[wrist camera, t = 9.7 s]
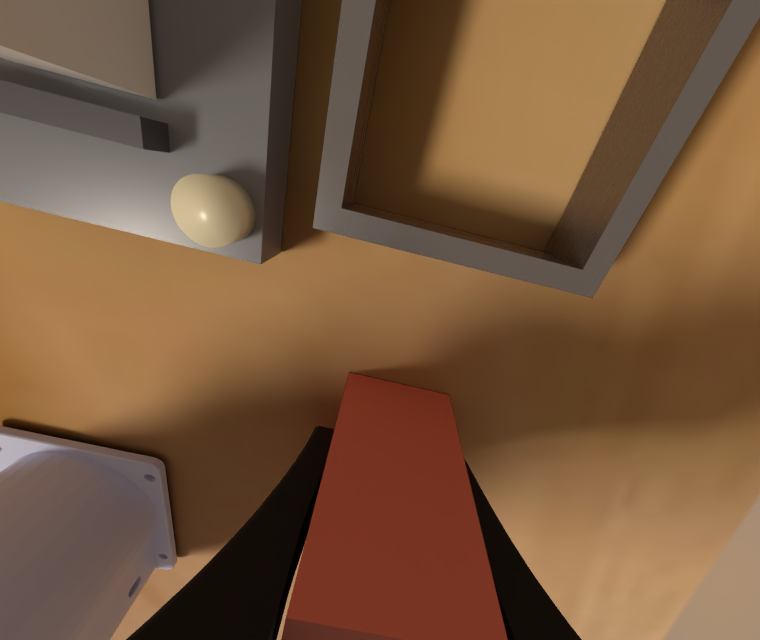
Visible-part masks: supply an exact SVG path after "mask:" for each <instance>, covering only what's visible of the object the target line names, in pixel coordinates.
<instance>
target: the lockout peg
mask: <svg viewBox="0 0 760 640" xmlns="http://www.w3.org/2000/svg"><path fill="white" fill-rule="evenodd" d="M281 640H508V639H507V635H506V631H505V627H504V622H503V618H502V614H501V610H500V606H499V602H498V597H497V593H496V589H495V585H494V581H493V577H492V573H491V568H490V564H489V560H488V556H487V552H486V548H485V544H484V539H483V535H482V531H481V527H480V523H479V519H478V515H477V510H476V506H475V502H474V498H473V494H472V490H471V485H470V481H469V477H468V473H467V469H466V465H465V461H464V456H463V452H462V448H461V444H460V440H459V436H458V432H457V427H456V423H455V419H454V415H453V411H452V407H451V403H450V398H449V395H447V394H442V393H438V392H434V391H429V390H425V389H420V388H416V387H412V386H407V385H403V384H398V383H394V382H389V381H385V380H381V379H376V378H372V377H367V376H363V375H358V374H354V373H350V372H349V375H348V379H347V383H346V387H345V391H344V394H343V398H342V402H341V406H340V410H339V414H338V418H337V422H336V425H335V429H334V433H333V437H332V441H331V445H330V449H329V453H328V457H327V460H326V464H325V468H324V472H323V476H322V480H321V484H320V488H319V491H318V495H317V499H316V503H315V507H314V511H313V515H312V519H311V523H310V526H309V530H308V534H307V538H306V542H305V546H304V550H303V554H302V557H301V561H300V565H299V569H298V573H297V577H296V581H295V585H294V589H293V592H292V596H291V600H290V604H289V608H288V612H287V616H286V620H285V625H284V630H283V635H282V639H281Z"/></svg>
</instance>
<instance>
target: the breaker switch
mask: <svg viewBox="0 0 760 640" xmlns="http://www.w3.org/2000/svg"><path fill="white" fill-rule="evenodd" d="M0 58H3V59H6V60H9V61H13V62H16V63H19V64H23V65H27V66H31V67H35V68H38V69H42V70H46V71H50V72H53V73H57V74H61V75H65V76H68V77H72V78H76V79H80V80H83V81H87V82H91V83H95V84H99V85H102V86H106V87H110V88H114V89H117V90H121V91H125V92H129V93H132V94H136V95H140V96H144V97H148V98H151V99H155V100H156V88H155V76H154V64H153V52H152V40H151V28H150V16H149V4H148V0H0Z"/></svg>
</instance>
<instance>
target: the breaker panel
mask: <svg viewBox="0 0 760 640" xmlns="http://www.w3.org/2000/svg"><path fill="white" fill-rule="evenodd" d="M148 4H149V16H150V28H151V40H152V52H153V64H154V76H155V88H156V100H155V99H151V98H148V97H144V96H140V95H136V94H132V93H129V92H125V91H121V90H117V89H114V88H110V87H106V86H102V85H99V84H95V83H91V82H87V81H83V80H80V79H76V78H72V77H68V76H65V75H61V74H57V73H53V72H50V71H46V70H42V69H38V68H35V67H31V66H27V65H23V64H19V63H16V62H13V61H9V60H6V59H3V58H0V201H1V202H5V203H9V204H13V205H17V206H22V207H26V208H30V209H34V210H38V211H42V212H46V213H51V214H55V215H59V216H63V217H67V218H71V219H75V220H79V221H84V222H88V223H92V224H96V225H100V226H104V227H108V228H112V229H117V230H121V231H125V232H129V233H133V234H137V235H141V236H146V237H150V238H154V239H158V240H162V241H166V242H170V243H174V244H179V245H183V246H187V247H191V248H195V249H199V250H203V251H208V252H212V253H216V254H220V255H224V256H228V257H232V258H236V259H241V260H245V261H249V262H253V263H257V264H262V263H264V262H266V261H267V260H269V259H271V258H272V257H274V256H276V255H277V254H279V253H281V243H282V231H283V219H284V208H285V196H286V184H287V172H288V161H289V149H290V137H291V126H292V114H293V102H294V91H295V79H296V67H297V55H298V44H299V32H300V20H301V9H302V0H148Z"/></svg>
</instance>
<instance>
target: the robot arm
mask: <svg viewBox="0 0 760 640" xmlns="http://www.w3.org/2000/svg"><path fill="white" fill-rule="evenodd" d="M333 433H334V429H331V428H326V427H321V426H318V427H315V429H314V431H313V433H312V435H311V437H310V439H309V441H308V442H307V444H306V446H305V447H304V449H303V450H302V452H301V453H300V455H299V456H298V458H297V459H296V461H295V462H294V464H293V465H292V466H291V468H290V469H289V471H288V472H287V473H286V475H285V476H284V477H283V479H282V480H281V481H280V483H279V484H278V485H277V487H276V488H275V489H274V490H273V491H272V493H271V494H270V495H269V496H268V498H267V499H266V500H265V501H264V503H263V504H262V505H261V506H260V507H259V509H258V510H257V511H256V512H255V513H254V514H253V516H252V517H251V518H250V519H249V520H248V521H247V522H246V524H245V525H244V526H243V527H242V528H241V529H240V530H239V531H238V532H237V533H236V534H235V536H234V537H233V538H232V539H231V540H230V541H229V542H228V543H227V544H226V545H225V546H224V547H223V548H222V549H221V550H220V551H219V552H218V553H217V554H216V555H215V556H214V557H213V559H212V560H211V561H210V562H209V563H208V564H207V565H206V566H205V567H204V568H203V569H202V570H201V571H200V572H199V573H198V574H197V575H196V576H195V577H194V578H193V579H191V580H190V581H189V582H188V583H187V584H186V585H185V586H184V587H183V588H182V589H181V590H180V591H179V592H178V593H177V594H176V595H174V596H173V597H172V598H171V599H170V600H169V601H168V602H167V603H166V604H165V605H164V606H163V607H162V608H161V609H159V610H158V611H157V612H156V613H155V614H154V615H153V616H152V617H151V618H150V619H149V620H148V621H147V622H145V623H144V624H143V625H142V626H141V627H140V628H139V629H138V630H137V631H135V632H134V633H133V634H132V635H131V636H130V637H129V638H127V639H126V640H276V639H277V635H278V632H279V628H280V624H281V620H282V616H283V613H284V609H285V605H286V601H287V597H288V594H289V590H290V587H291V584H292V580H293V577H294V574H295V571H296V568H297V565H298V562H299V559H300V556H301V553H302V550H303V547H304V544H305V541H306V538H307V534H308V530H309V526H310V523H311V519H312V515H313V511H314V507H315V503H316V499H317V495H318V491H319V488H320V484H321V480H322V476H323V472H324V468H325V464H326V460H327V457H328V453H329V449H330V445H331V441H332V437H333ZM464 461H465V465H466V469H467V473H468V477H469V481H470V485H471V490H472V494H473V498H474V502H475V506H476V510H477V515H478V519H479V523H480V527H481V531H482V535H483V539H484V544H485V548H486V552H487V556H488V560H489V564H490V568H491V573H492V577H493V581H494V585H495V589H496V593H497V597H498V602H499V606H500V610H501V614H502V618H503V622H504V627H505V631H506V635H507V639H508V640H581V638H580V637H579V636H578V635H577V633H576V632H575V631H574V630H573V628H572V627H571V626H570V624H569V623H568V622H567V620H566V619H565V618H564V616H563V615H562V614H561V612H560V611H559V610H558V608H557V607H556V606H555V604H554V603H553V601H552V600H551V599H550V597H549V596H548V595H547V593H546V592H545V590H544V589H543V588H542V586H541V585H540V583H539V582H538V581H537V579H536V578H535V576H534V575H533V573H532V572H531V570H530V569H529V567H528V566H527V564H526V563H525V561H524V560H523V558H522V557H521V555H520V553H519V552H518V550H517V549H516V547H515V546H514V544H513V542H512V541H511V539H510V538H509V536H508V534H507V533H506V531H505V529H504V528H503V526H502V524H501V523H500V521H499V519H498V518H497V516H496V514H495V512H494V511H493V509H492V507H491V506H490V504H489V502H488V500H487V499H486V497H485V495H484V493H483V491H482V490H481V488H480V486H479V484H478V482H477V480H476V479H475V477H474V475H473V473H472V471H471V470H470V468H469V466H468V464H467V462H466V460H465V459H464ZM176 562H177V555H176V547H175V540H174V532H173V524H172V517H171V509H170V502H169V494H168V486H167V479H166V471H165V465H164V463H163V462H162V461H161V460H160V459H158V458H155V457H150V456H146V455H141V454H136V453H131V452H126V451H121V450H116V449H111V448H107V447H102V446H97V445H92V444H87V443H82V442H77V441H73V440H68V439H63V438H58V437H53V436H48V435H43V434H38V433H34V432H29V431H24V430H19V429H14V428H9V427H4V426H0V640H110V639H111V637H112V635H113V634H114V632H115V631H116V629H117V627H118V626H119V624H120V623H121V621H122V620H123V618H124V616H125V615H126V613H127V612H128V610H129V608H130V607H131V605H132V604H133V602H134V601H135V599H136V597H137V596H138V594H139V593H140V591H141V589H142V588H143V586H144V585H145V583H146V582H147V580H148V578H149V577H150V575H151V574H152V572H153V570H154V569H155V568H160V569H166V570H169V569H172V568H173V567H174V566H175V564H176Z"/></svg>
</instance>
